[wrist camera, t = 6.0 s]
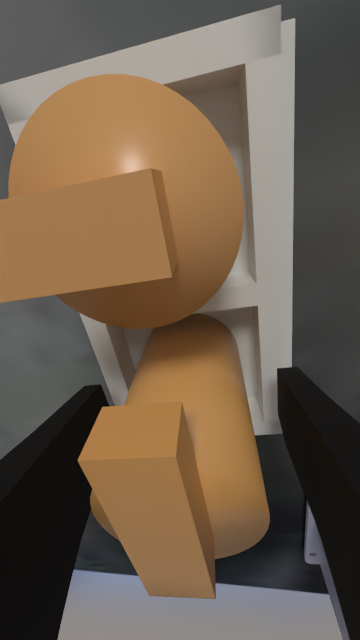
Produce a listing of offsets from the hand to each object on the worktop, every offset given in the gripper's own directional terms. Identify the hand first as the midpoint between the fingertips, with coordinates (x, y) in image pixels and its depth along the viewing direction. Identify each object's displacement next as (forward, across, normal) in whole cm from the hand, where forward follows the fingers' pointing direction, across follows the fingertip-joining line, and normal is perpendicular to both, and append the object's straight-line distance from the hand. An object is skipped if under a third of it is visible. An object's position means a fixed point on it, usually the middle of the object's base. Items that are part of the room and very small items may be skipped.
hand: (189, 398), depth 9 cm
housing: (+4, 0, -3) cm, 5 cm away
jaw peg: (+3, 0, 0) cm, 3 cm away
